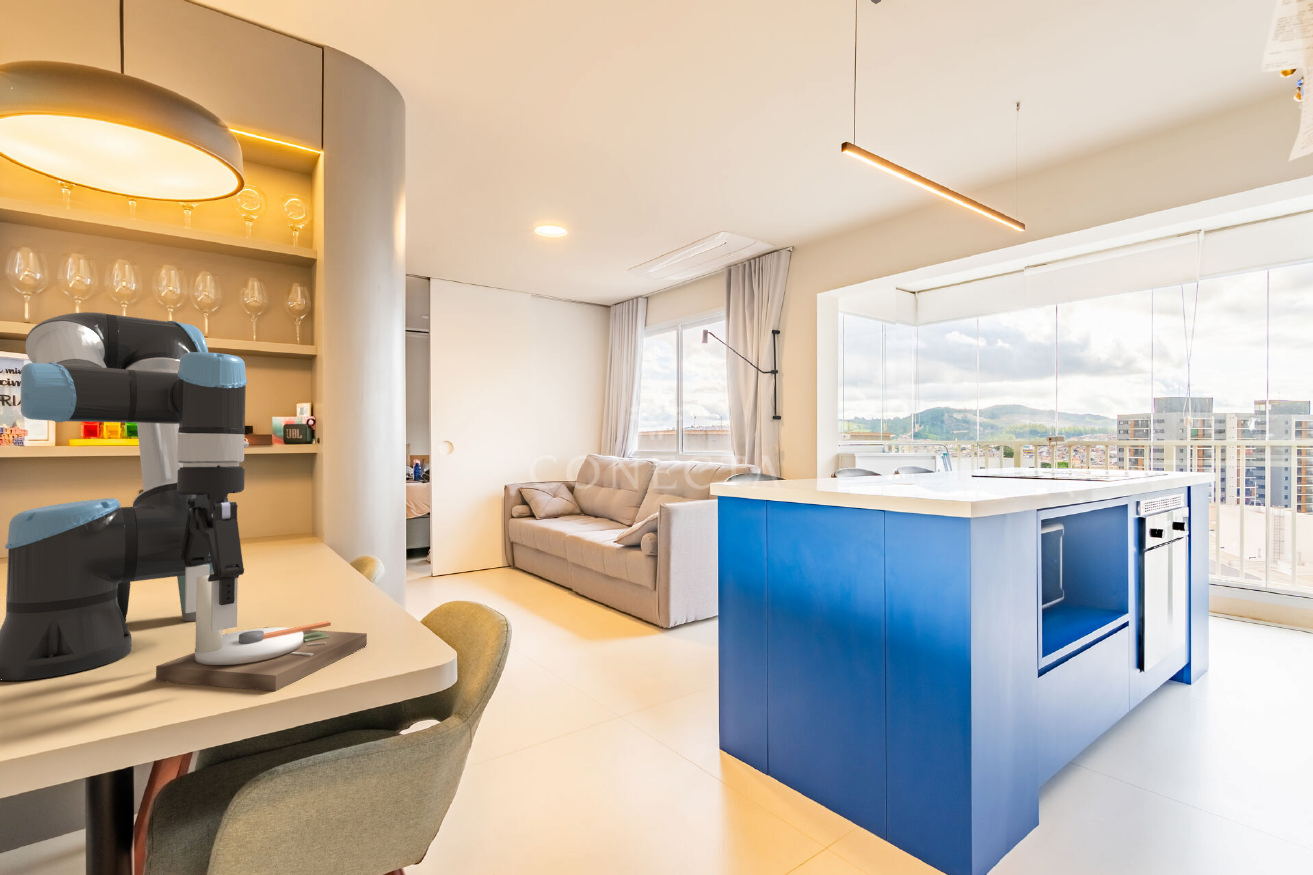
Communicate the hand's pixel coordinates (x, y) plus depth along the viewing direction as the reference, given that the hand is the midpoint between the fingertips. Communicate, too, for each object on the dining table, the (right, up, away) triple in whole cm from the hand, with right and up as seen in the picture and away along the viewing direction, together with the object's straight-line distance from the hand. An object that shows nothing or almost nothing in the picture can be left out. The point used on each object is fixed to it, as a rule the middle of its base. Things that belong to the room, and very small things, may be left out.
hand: (209, 619), depth 84 cm
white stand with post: (+5, -5, +5) cm, 9 cm away
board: (+5, -8, +5) cm, 10 cm away
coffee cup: (-23, -8, +29) cm, 38 cm away
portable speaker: (-36, -8, +22) cm, 43 cm away
